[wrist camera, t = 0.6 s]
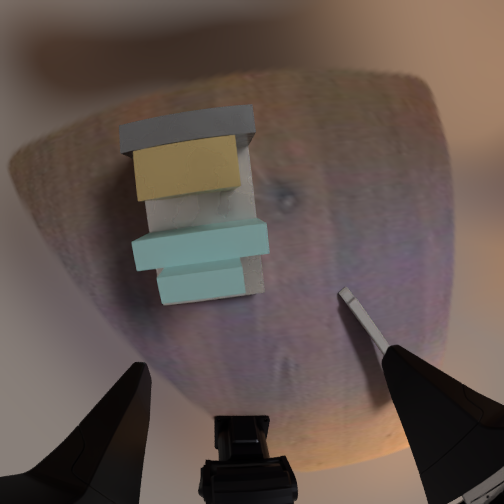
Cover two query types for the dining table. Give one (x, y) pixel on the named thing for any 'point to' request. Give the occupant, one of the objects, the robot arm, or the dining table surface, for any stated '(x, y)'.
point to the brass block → (187, 168)
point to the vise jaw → (201, 258)
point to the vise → (210, 204)
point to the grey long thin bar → (364, 319)
